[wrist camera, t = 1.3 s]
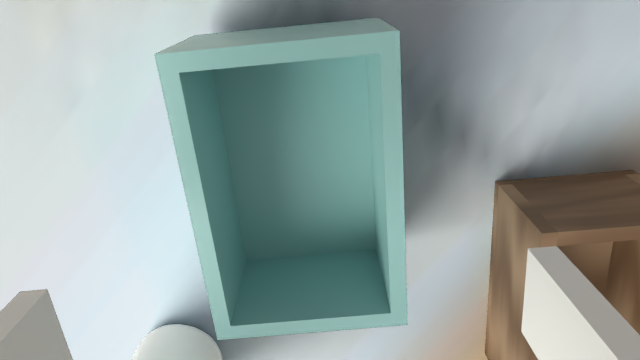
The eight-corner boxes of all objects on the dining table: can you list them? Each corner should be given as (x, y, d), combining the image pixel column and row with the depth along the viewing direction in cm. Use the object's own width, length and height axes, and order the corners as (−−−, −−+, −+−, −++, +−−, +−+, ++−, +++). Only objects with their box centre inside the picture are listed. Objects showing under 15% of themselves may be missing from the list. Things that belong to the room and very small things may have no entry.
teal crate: (200, 32, 23) (154, 54, 16) (374, 15, 23) (399, 30, 16) (240, 254, 28) (217, 340, 21) (385, 241, 28) (407, 324, 21)
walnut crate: (494, 180, 26) (542, 233, 21) (630, 168, 26) (714, 219, 21) (483, 350, 31) (520, 431, 25) (599, 341, 31) (662, 421, 25)
